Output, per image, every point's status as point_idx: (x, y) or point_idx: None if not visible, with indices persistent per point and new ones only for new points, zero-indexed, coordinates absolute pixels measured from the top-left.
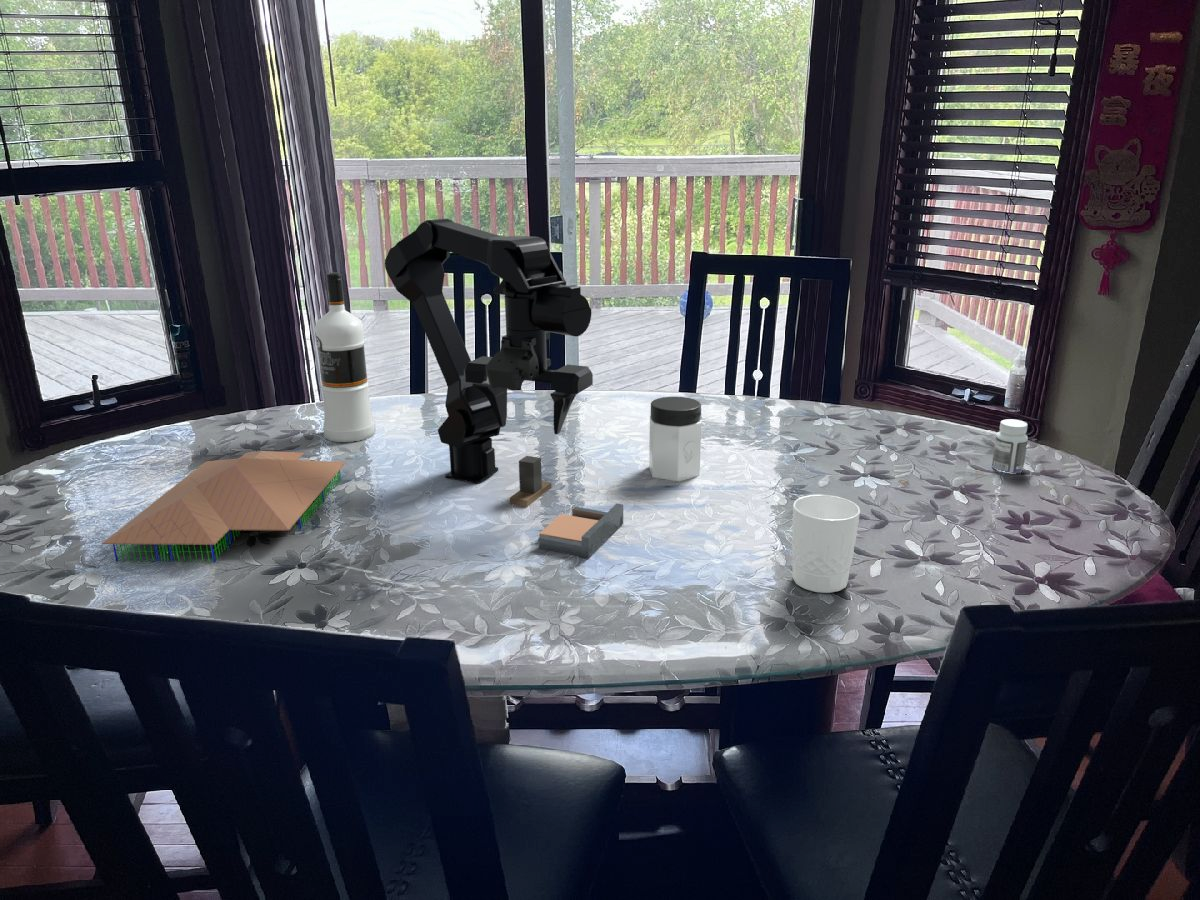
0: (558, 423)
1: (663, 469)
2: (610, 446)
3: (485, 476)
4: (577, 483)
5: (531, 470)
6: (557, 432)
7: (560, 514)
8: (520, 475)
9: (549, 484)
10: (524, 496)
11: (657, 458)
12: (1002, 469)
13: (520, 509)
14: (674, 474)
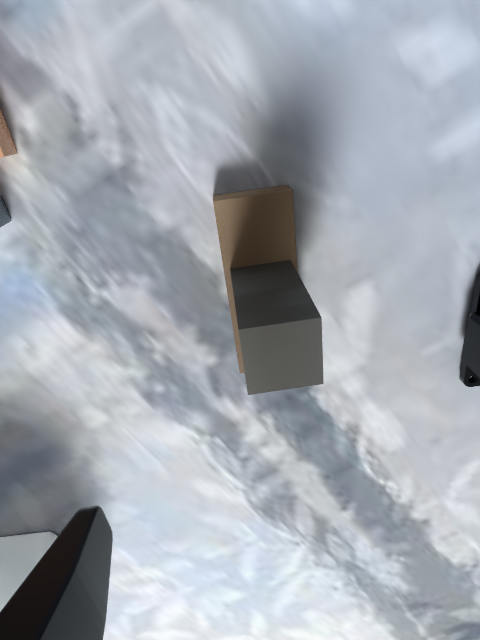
0: (9, 602)
1: (5, 562)
2: (265, 598)
3: (476, 312)
4: (194, 422)
5: (246, 308)
6: (71, 522)
7: (2, 151)
8: (298, 286)
9: (238, 360)
10: (246, 229)
11: (12, 592)
12: None
13: (222, 163)
14: None
